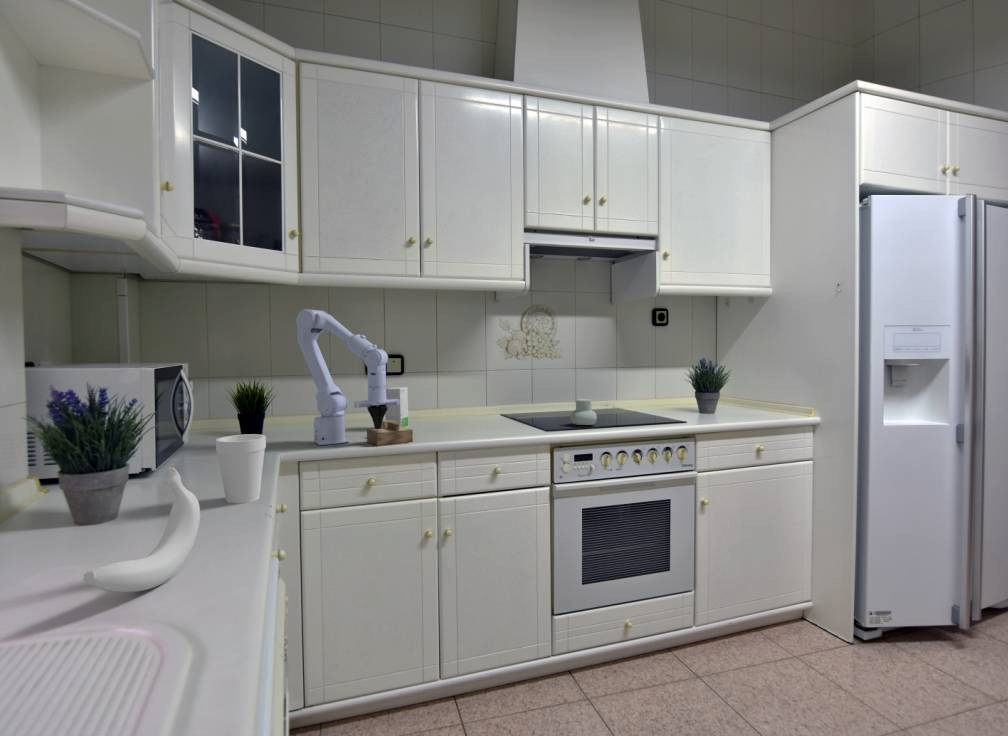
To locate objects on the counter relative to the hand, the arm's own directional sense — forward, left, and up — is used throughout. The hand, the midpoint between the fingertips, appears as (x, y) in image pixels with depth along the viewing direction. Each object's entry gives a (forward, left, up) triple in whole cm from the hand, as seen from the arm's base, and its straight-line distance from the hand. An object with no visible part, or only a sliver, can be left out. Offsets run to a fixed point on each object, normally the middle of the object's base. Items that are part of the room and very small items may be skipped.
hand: (377, 428), depth 181 cm
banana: (-64, -82, -5) cm, 104 cm away
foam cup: (-47, -44, -5) cm, 65 cm away
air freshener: (+79, -10, -5) cm, 80 cm away
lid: (+4, 0, -1) cm, 5 cm away
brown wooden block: (+4, 0, -5) cm, 6 cm away
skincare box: (+17, +25, -5) cm, 31 cm away
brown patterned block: (+8, +11, -5) cm, 14 cm away
